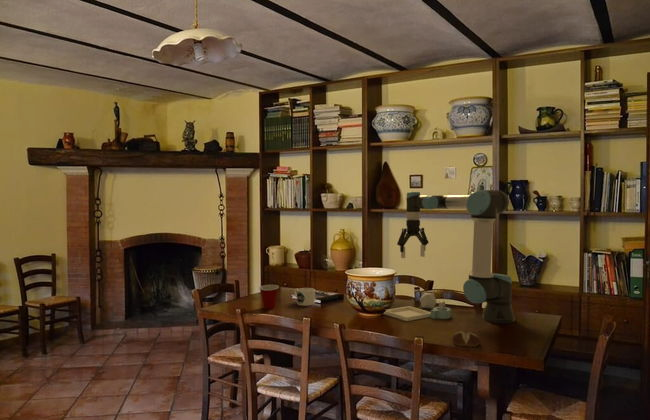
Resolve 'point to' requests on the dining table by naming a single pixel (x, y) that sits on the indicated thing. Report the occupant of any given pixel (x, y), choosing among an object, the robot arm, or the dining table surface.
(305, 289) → the mug
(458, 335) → the bread
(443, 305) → the grey pedestal column
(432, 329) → the dining table surface
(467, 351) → the dining table surface
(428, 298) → the die
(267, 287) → the plastic cup
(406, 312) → the tray
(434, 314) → the grey-green rounded block
